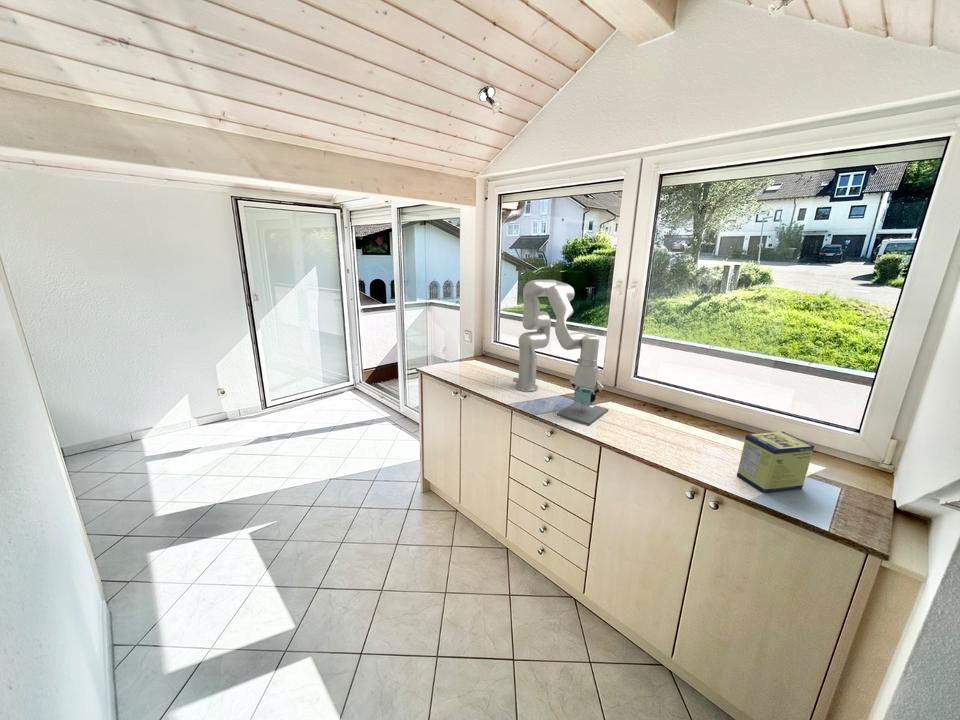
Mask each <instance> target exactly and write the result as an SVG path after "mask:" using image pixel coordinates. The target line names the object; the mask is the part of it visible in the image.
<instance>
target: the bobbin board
mask: <svg viewBox="0 0 960 720" xmlns="http://www.w3.org/2000/svg"><path fill="white" fill-rule="evenodd" d="M590 405H591V404H589V405H587V404H583V403H579V402H575V401H573V403H571V404H569V405H568V406H566V407H564V408H562V409H561V410H560V411H558V412H556V415H557V417H559V416H560V418H562V417H563V419H566V420H569V421H573V422H576V423H578V424H582V425H585V426H590V425H592V424H594V422H596V421H597V420H598V419H600V418H602V417H603V416H604V415H605V414H607V413H608V412H609V408H606V407H602V406H600V405H594V406H593V407H591V406H590ZM556 415H555V416H556Z"/></svg>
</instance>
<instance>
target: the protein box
mask: <svg viewBox="0 0 960 720" xmlns="http://www.w3.org/2000/svg"><path fill="white" fill-rule="evenodd" d="M814 448H815V445H813V444H812V443H808V442H807V441H804V439H803V440H802V439H800V438H798V437H796V436H793V434H792V435H791V434H789V433H787V432H785V431H774V432H761V433H749V434H746V435H745V438H744V443H743V447H742V452H741V456H740V459H739V460H740V461H739V464H738V469H737V473H736V476H737V478H740V479H741V480H743V481H744V482H746V483H747V484H749V485H750V486H751V487H753V488H755V489H757V490H758V491H760V492H761V493H763V494H769V493H771V494H772V493H778V492H785V491H786V492H789V491H795V490H796V491H797V490H802V489H803V487H804V484H805V480H806V476H807V474H808V473H807V472H808V470H809V465H810V462H811V459H812V456H813V454H814V453H813V452H814Z"/></svg>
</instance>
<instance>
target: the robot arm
mask: <svg viewBox="0 0 960 720" xmlns="http://www.w3.org/2000/svg"><path fill="white" fill-rule="evenodd" d="M575 295H576V294H575V289H574V287H573V286H571V285H570V284H568V283H565V282H562V281H559V280H555V279H534V280H533V279H532V280H529V281H528V282H526V283H525V285H524V286H523V291H522V296H523V311H522V327H523V328H524V329H525V330H526V331H527V330H530V331H527V332H524V333H522V334H520V335H519V337H518V351H519V363H518V364H519V365H518V377H513V380H512V382H513V383H516V384H515V385H514V387H515V389H516V390H517V391H520V392H531V393H532V392H535V391H537V390H538V389H539V387H538V385H537V384H536V380H537V377H536V376H537V366H538V365H537V363H538V357H537V353H536V351H535V350H539V349H544V348H546V347H547V346H548V345H549V343H550V337H551V326H552V325H551V324H552V323H551V322H552V320H551V317H550V314H549V313H548V312H547V311H544V310H542V311H541V302H540V300H539V297H540V298H541V297H547V299H548V302H549V304H550V306H551V308H552V310H553V312H554V315H555V318H556V320H555V324H554V334H555V335H556V339H557V340H558V343H559V345H560V347H561V348H562V349H564V350H567V351H572V350H580V354H579V355H580V356H579V358H576V361H577V362H578V364H577V366H576V369H575V371H574V372H575V374H574V377H572V378H571V379H570V380H569V382H570V384H571V386H572V388H573V390H574V392H575V391H576V390H578V389H580V388H581V387H582V388H586V389H590V390H591V391H592V394H591V404H592V403H594V402H595V401H596V399H597V398H596V396H597V394H598V393H599V392H601V391H602V390H603V389H604V385H602V384H601V382H600V381H599V367H598V366H597V365H598V358H599V357H598V355H599V346H600V339H599V337H598V336H596V335H590V334H588V333H586V332H582V331H581V332H580V331H578V332H572V333H570V331H569V330H568V327H567V319H568V318H570V317H571V316H573V313H574V309H573V306H572V305H571V301H573V300H574V298H575ZM531 330H532V331H531ZM533 330H534V331H533ZM535 330H536V331H535ZM597 387H598V388H597ZM574 397H575V393H574Z"/></svg>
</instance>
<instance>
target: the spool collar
mask: <svg viewBox="0 0 960 720" xmlns="http://www.w3.org/2000/svg"><path fill="white" fill-rule="evenodd" d="M574 394H575V396H574V400H573V402H579V403H583V404H587V405H589V404H590V405H591V404H592V403H591V394H592V391H591V389H588V388H583V387H579V389H578V390H576V391H575V390H574Z"/></svg>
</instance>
